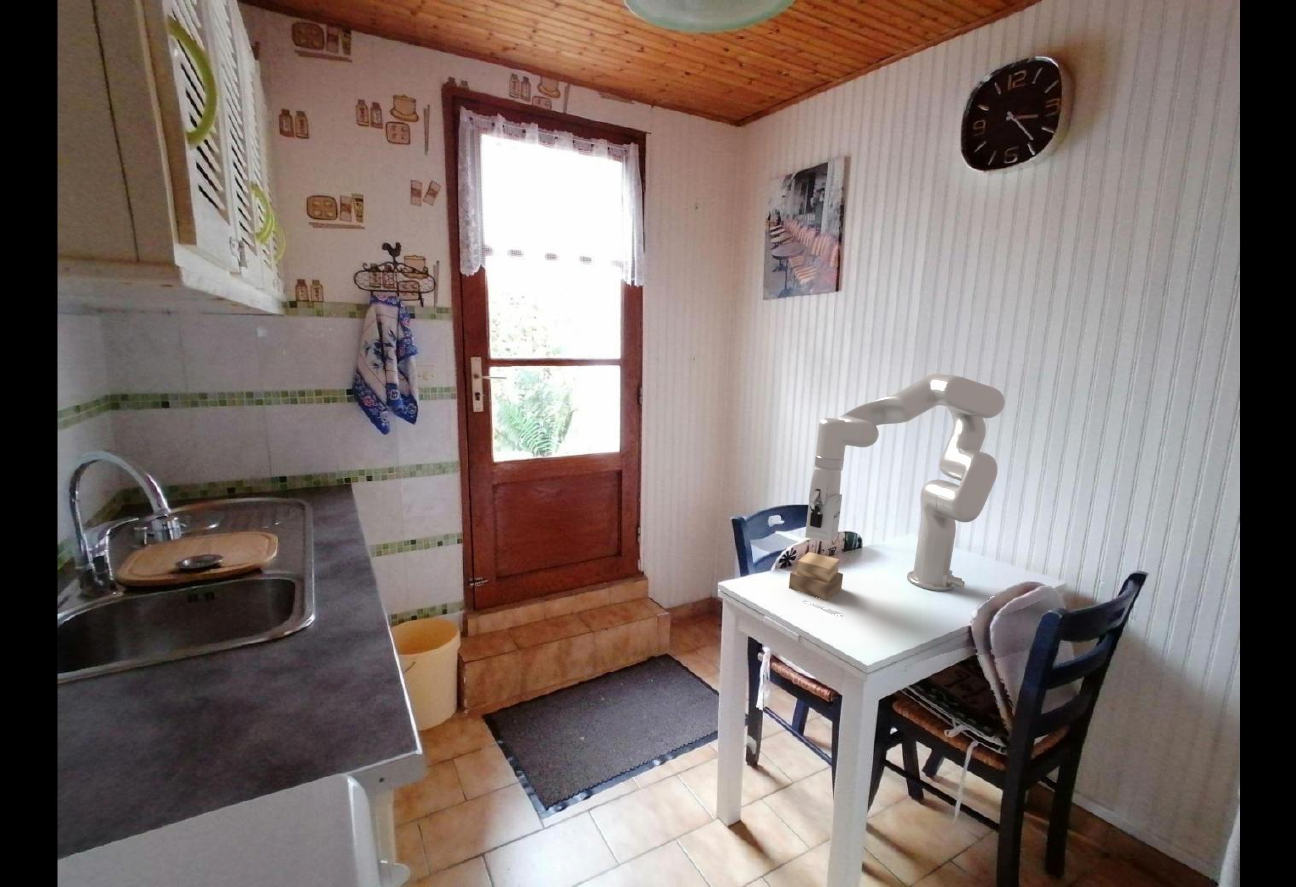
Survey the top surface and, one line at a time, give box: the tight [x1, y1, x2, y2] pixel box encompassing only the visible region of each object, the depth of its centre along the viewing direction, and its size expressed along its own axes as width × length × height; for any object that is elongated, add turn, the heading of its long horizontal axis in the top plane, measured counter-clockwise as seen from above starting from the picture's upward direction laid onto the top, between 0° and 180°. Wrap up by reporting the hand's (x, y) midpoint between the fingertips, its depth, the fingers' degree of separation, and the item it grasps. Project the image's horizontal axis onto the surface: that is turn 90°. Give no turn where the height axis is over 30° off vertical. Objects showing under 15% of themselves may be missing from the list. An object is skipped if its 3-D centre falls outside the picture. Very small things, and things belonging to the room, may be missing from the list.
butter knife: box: [802, 599, 843, 617], centre depth 153 cm, size 1×24×3 cm
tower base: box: [788, 568, 844, 602], centre depth 161 cm, size 11×11×5 cm
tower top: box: [796, 551, 840, 583], centre depth 160 cm, size 9×9×4 cm
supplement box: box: [804, 493, 843, 544], centre depth 157 cm, size 7×7×13 cm
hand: (822, 523), depth 158 cm, fingers closed on supplement box, 7 cm apart
